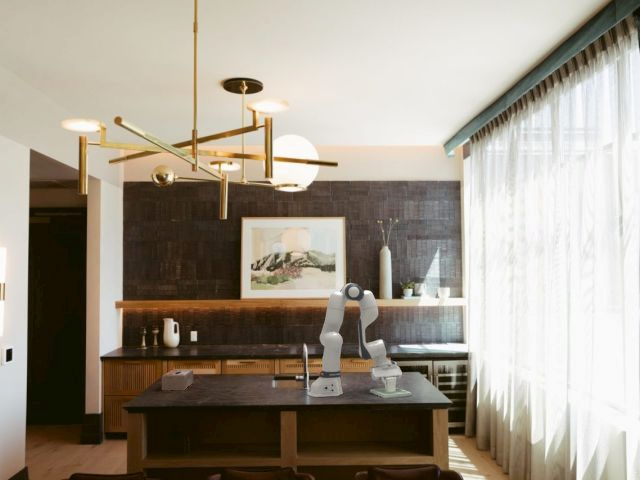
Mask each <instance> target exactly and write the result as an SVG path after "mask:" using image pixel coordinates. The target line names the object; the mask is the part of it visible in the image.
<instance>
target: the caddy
mask: <svg viewBox="0 0 640 480" xmlns="http://www.w3.org/2000/svg"><path fill="white" fill-rule="evenodd" d="M385 381H387V383H388V384H387V385H384V386H385V387H384V388H385V391H387V392H394V391H396V388H397V387H396V384H395V378H393V377H389V378H385Z"/></svg>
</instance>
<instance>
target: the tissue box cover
mask: <svg viewBox="0 0 640 480" xmlns="http://www.w3.org/2000/svg"><path fill="white" fill-rule="evenodd" d="M192 383H193V384H194V369H172V370H170V371H168V372H167V373H164V374H163V375H162V376H161V391H162V390H185V389H186V388H187V387H188V386H190V385H191V384H192ZM191 386H192V385H191ZM191 386H190V387H191ZM187 389H188V388H187ZM187 389H186V390H187ZM186 390H185V391H186Z"/></svg>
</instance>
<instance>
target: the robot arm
mask: <svg viewBox="0 0 640 480" xmlns="http://www.w3.org/2000/svg"><path fill="white" fill-rule="evenodd" d="M348 301H354V302H355V301H356V302H357V303H358V305H359V310H360V316H359V318H358V320H357V335H358V355H359V356H360V358H361V359H362V360H365V361H368V360H370V359H372V360H373V362H374V365H375V366H370V367H369V373H370V376H371V379H372V380H373V381H381V382H382V383H383V385H384V386H385V385H387V384H388V383H387V381H385V378H389V377H393V378H395V385H397V380H398V379H401V378H402V377H403V372H402V370H401V368H400V366H399V365H398V364H397V362H396V361H394V360H390V359H388V358H387V355H388V353H389V350H390V349H389V346H388V344H387V342H386V341H385V340H384V339H376V340H374V341H369V342H367V341H366V329H367V327H368V326H369V325H370V324H372V323H373V322H375V320H376V319H378V316H379V309H378V308H379V307H378V304H377V301H376V298H375V296H374V294H373V292H372V291H371V290H366V289H365V290H364V289H363V288H362V287H361V286H360V285H359V284H357V283H355V282H354V283H353V282H349V283H346V284H345V285H344V286H342V288H341V289H340V290H339V291H336V290H335V291H333V292H331V294H330V295H329V299H328V303H327V307H326V312H325V318H324V319H325V320H324V323H323V326H322V329H321V333H320V334H319V342H320V343H321V345H322V346H323V347H324V348H323V354H322V355H323V356H322V358H321V359H322V360H321V362H322V363H321V364H322V370H321V371H320V370H318V371H317V372H316V374H317V375H319V377H318V378H316V380H314V381H313V382H312V383H311V385H310V391H306V392H307V393H306V394H307V395H308V396H309V397H312V398H321V397H326V398H327V397H339V396H340V395H343V393H344V392H343V388H342V382H341V379H342V378H341V377H342V372H341V371H342V370H341V352H342V345H343V343H344V341H343V336H341V334H340V333H339V332H340V329H341V326H342V325H343V321H344V315H345V306H346V303H347V302H348Z"/></svg>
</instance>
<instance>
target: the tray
mask: <svg viewBox="0 0 640 480" xmlns="http://www.w3.org/2000/svg"><path fill="white" fill-rule="evenodd" d="M369 393H370V394H372V393H373V394H372V395H375V396H377V395H378V397H380V396H381V397H380V398H383V399H385V398H387V399H394V398H396V397H397V398H404V397H405V398H407V397H412V395H413V394H412V392H411V391H408V390H405V389H402V388H399V387H396V391H394V392H387V391H385V387H383V388H373V389H369ZM397 398H396V399H397Z"/></svg>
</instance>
